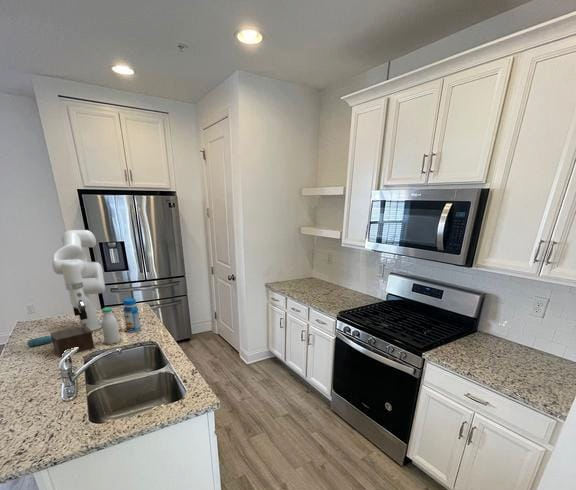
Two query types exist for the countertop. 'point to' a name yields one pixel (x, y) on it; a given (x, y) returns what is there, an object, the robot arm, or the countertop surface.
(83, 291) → the robot arm
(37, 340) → the teal cylinder
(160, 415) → the countertop surface
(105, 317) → the milk bottle
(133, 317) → the beverage bottle
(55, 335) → the bin lid
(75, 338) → the bin
